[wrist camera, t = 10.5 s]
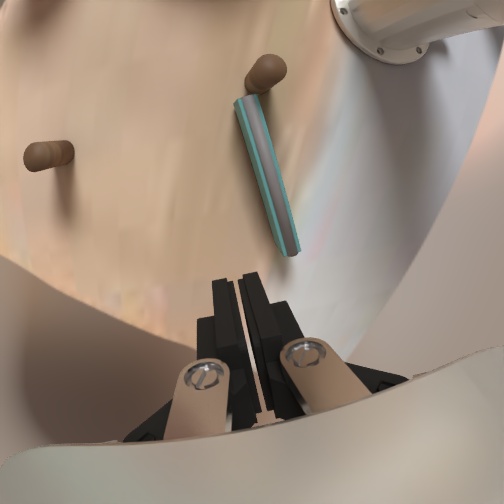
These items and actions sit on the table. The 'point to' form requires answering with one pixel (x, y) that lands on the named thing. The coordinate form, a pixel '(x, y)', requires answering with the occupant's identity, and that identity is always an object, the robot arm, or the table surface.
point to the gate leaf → (267, 173)
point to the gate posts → (62, 152)
